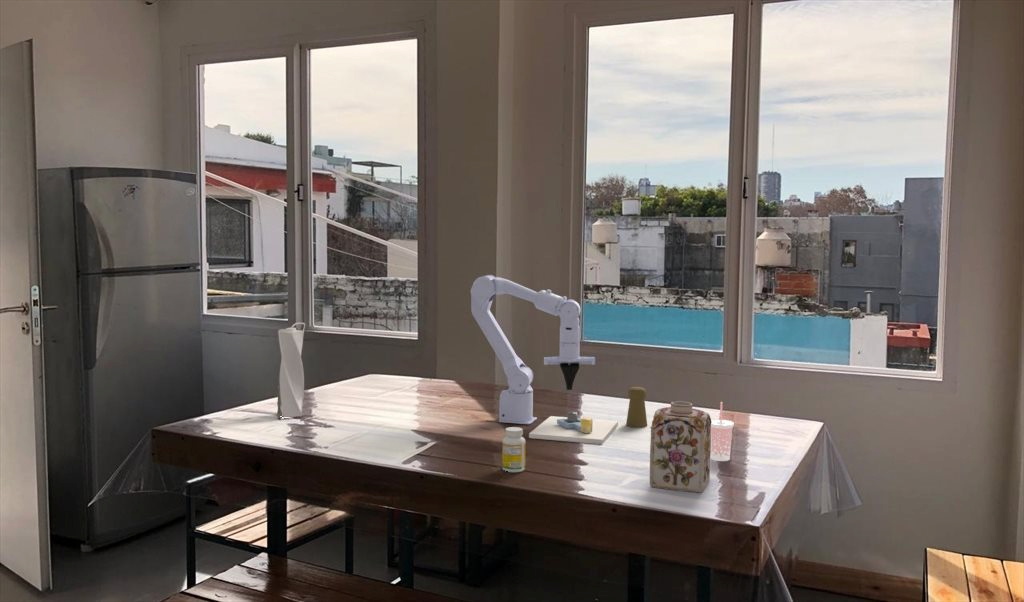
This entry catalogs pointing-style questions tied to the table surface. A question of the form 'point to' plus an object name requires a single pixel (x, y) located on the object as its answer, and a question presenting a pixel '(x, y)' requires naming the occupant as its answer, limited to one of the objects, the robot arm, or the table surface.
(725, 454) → the beverage cup
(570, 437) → the base plate
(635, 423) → the cork
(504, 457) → the supplement bottle
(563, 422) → the square ring with handle
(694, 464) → the decorative jar
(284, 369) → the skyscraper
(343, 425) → the table surface
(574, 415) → the post
